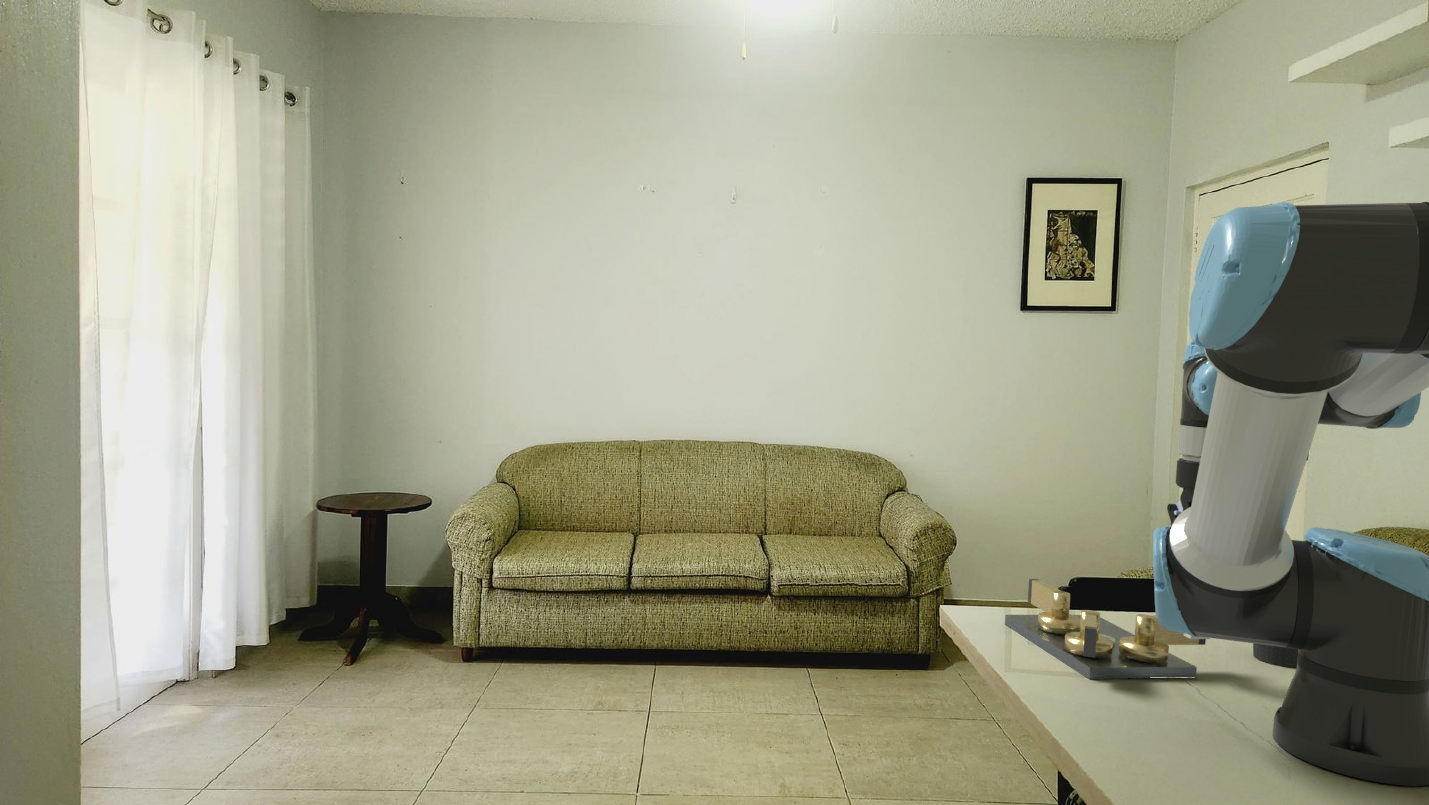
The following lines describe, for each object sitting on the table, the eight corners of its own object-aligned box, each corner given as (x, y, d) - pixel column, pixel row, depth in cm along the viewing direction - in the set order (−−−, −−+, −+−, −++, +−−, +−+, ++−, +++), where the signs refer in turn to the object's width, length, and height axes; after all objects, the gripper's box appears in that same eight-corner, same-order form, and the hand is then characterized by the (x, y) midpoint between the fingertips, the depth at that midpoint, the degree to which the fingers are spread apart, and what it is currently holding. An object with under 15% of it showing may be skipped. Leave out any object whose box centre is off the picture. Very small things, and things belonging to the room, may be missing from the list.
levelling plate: (1195, 678, 120) (1197, 660, 120) (1089, 679, 118) (1090, 660, 118) (1095, 624, 144) (1096, 609, 144) (1004, 624, 142) (1005, 609, 142)
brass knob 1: (1089, 634, 132) (1091, 598, 132) (1050, 634, 131) (1052, 598, 131) (1049, 612, 144) (1051, 579, 143) (1013, 611, 143) (1015, 578, 142)
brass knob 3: (1135, 662, 120) (1138, 623, 120) (1109, 647, 126) (1112, 610, 126) (1216, 662, 122) (1218, 623, 122) (1186, 647, 128) (1189, 610, 128)
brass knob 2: (1064, 641, 129) (1067, 604, 128) (1111, 647, 126) (1113, 610, 126) (1063, 665, 118) (1065, 625, 118) (1114, 673, 116) (1116, 632, 115)
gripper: (1272, 466, 114) (1257, 653, 115) (1203, 453, 126) (1191, 621, 128) (1216, 465, 113) (1202, 654, 114) (1152, 452, 125) (1141, 622, 127)
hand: (1196, 637), depth 121 cm, fingers closed
